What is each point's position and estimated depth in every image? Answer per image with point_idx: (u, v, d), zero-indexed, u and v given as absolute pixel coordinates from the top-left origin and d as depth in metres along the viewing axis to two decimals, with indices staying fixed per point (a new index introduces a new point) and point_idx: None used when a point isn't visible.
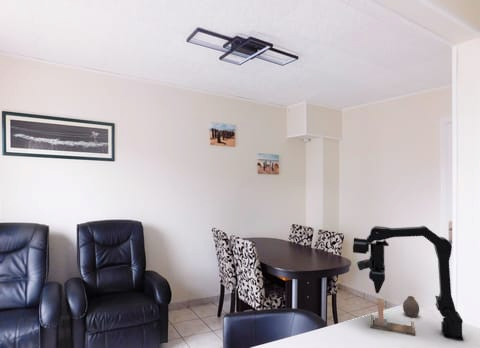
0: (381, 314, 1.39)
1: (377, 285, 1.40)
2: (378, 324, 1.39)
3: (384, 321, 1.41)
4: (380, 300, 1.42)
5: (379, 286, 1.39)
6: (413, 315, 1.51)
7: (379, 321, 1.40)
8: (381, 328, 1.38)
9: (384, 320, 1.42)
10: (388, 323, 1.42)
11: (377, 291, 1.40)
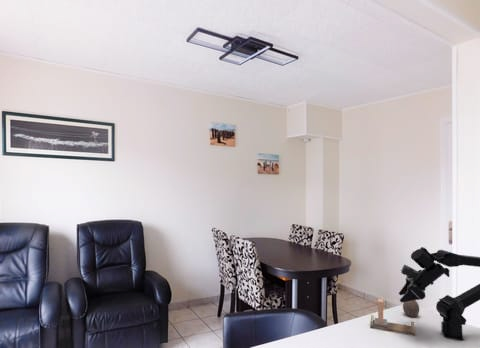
0: (381, 314, 1.39)
1: (407, 297, 1.32)
2: (378, 324, 1.39)
3: (384, 321, 1.41)
4: (380, 300, 1.42)
5: (408, 299, 1.32)
6: (413, 315, 1.51)
7: (379, 321, 1.40)
8: (381, 328, 1.38)
9: (384, 320, 1.42)
10: (388, 323, 1.42)
11: (402, 300, 1.34)
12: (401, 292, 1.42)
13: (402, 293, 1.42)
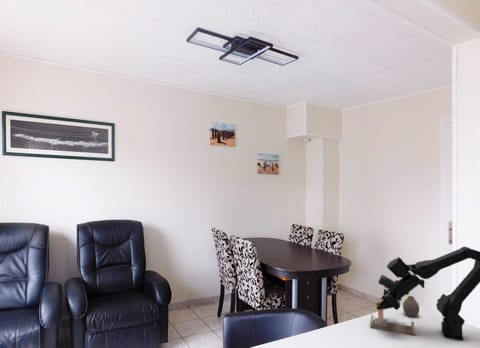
0: (381, 314, 1.39)
1: (383, 305, 1.38)
2: (378, 324, 1.39)
3: (384, 321, 1.41)
4: (380, 300, 1.42)
5: (384, 307, 1.38)
6: (413, 315, 1.51)
7: (379, 321, 1.40)
8: (381, 328, 1.38)
9: (384, 320, 1.42)
10: (388, 323, 1.42)
11: (378, 308, 1.39)
12: None
13: None
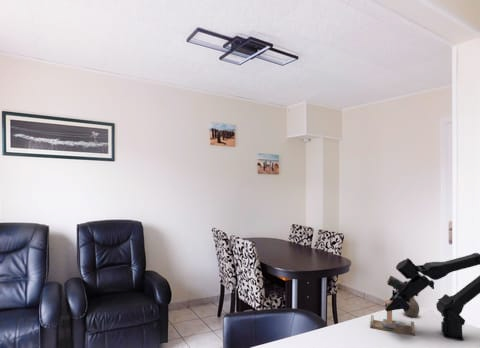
0: (390, 315, 1.38)
1: (392, 306, 1.37)
2: (387, 326, 1.38)
3: (393, 322, 1.40)
4: (388, 301, 1.40)
5: (393, 308, 1.36)
6: (413, 315, 1.51)
7: (388, 322, 1.38)
8: (381, 328, 1.38)
9: (393, 321, 1.41)
10: None
11: (387, 309, 1.38)
12: None
13: None
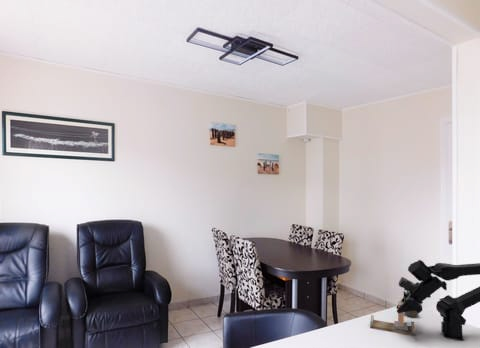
0: (401, 317, 1.36)
1: (404, 308, 1.35)
2: (398, 327, 1.36)
3: (404, 324, 1.38)
4: (400, 303, 1.38)
5: (405, 310, 1.35)
6: (413, 315, 1.51)
7: (399, 324, 1.36)
8: (381, 328, 1.38)
9: (404, 323, 1.39)
10: (388, 323, 1.42)
11: (399, 311, 1.36)
12: None
13: None
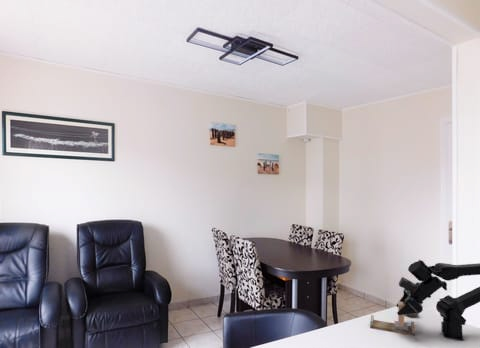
0: (402, 317, 1.36)
1: (405, 310, 1.32)
2: (399, 328, 1.36)
3: (405, 324, 1.38)
4: (400, 303, 1.38)
5: (406, 312, 1.32)
6: (413, 315, 1.51)
7: (400, 324, 1.36)
8: (381, 328, 1.38)
9: (404, 323, 1.39)
10: (388, 323, 1.42)
11: (399, 313, 1.34)
12: None
13: None
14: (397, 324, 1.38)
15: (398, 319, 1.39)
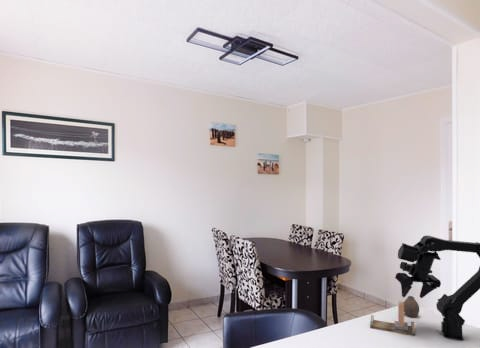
0: (402, 317, 1.36)
1: (403, 289, 1.38)
2: (399, 328, 1.36)
3: (405, 324, 1.38)
4: (400, 303, 1.38)
5: (404, 291, 1.37)
6: (413, 315, 1.51)
7: (400, 324, 1.36)
8: (381, 328, 1.38)
9: (404, 323, 1.39)
10: (388, 323, 1.42)
11: (403, 295, 1.39)
12: (421, 294, 1.41)
13: (421, 295, 1.41)
14: (397, 324, 1.38)
15: (398, 319, 1.39)
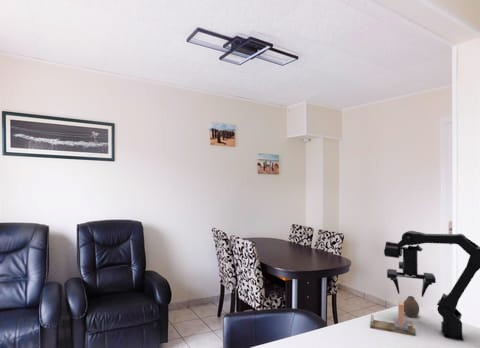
0: (402, 317, 1.36)
1: None
2: (399, 328, 1.36)
3: (405, 324, 1.38)
4: (400, 303, 1.38)
5: None
6: (413, 315, 1.51)
7: (400, 324, 1.36)
8: (381, 328, 1.38)
9: (404, 323, 1.39)
10: (388, 323, 1.42)
11: None
12: None
13: None
14: (397, 324, 1.38)
15: (398, 319, 1.39)
